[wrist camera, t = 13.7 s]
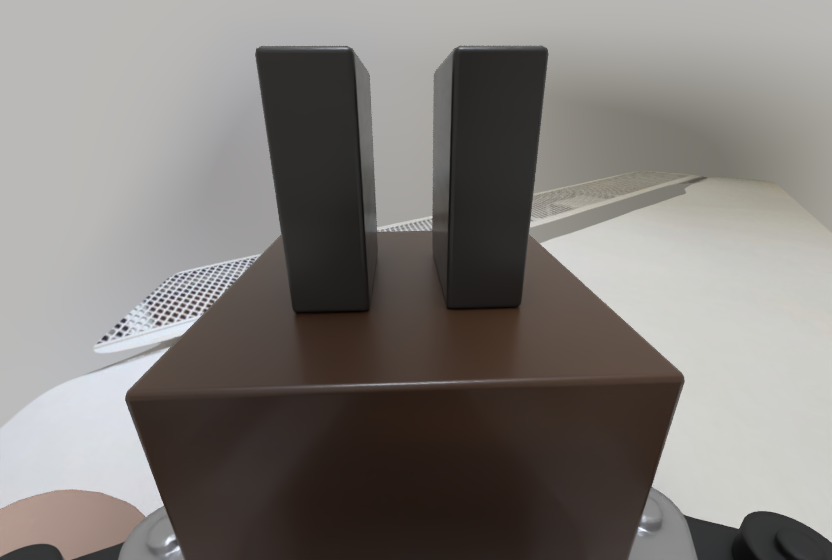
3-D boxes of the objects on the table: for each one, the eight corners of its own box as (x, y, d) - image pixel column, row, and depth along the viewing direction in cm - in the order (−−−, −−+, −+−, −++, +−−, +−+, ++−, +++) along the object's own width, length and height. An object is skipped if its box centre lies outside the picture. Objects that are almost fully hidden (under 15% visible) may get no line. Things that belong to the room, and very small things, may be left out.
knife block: (491, 549, 13) (540, 77, 8) (548, 817, 8) (808, 5, 3) (328, 557, 13) (257, 79, 7) (284, 836, 8) (-27, 4, 2)
